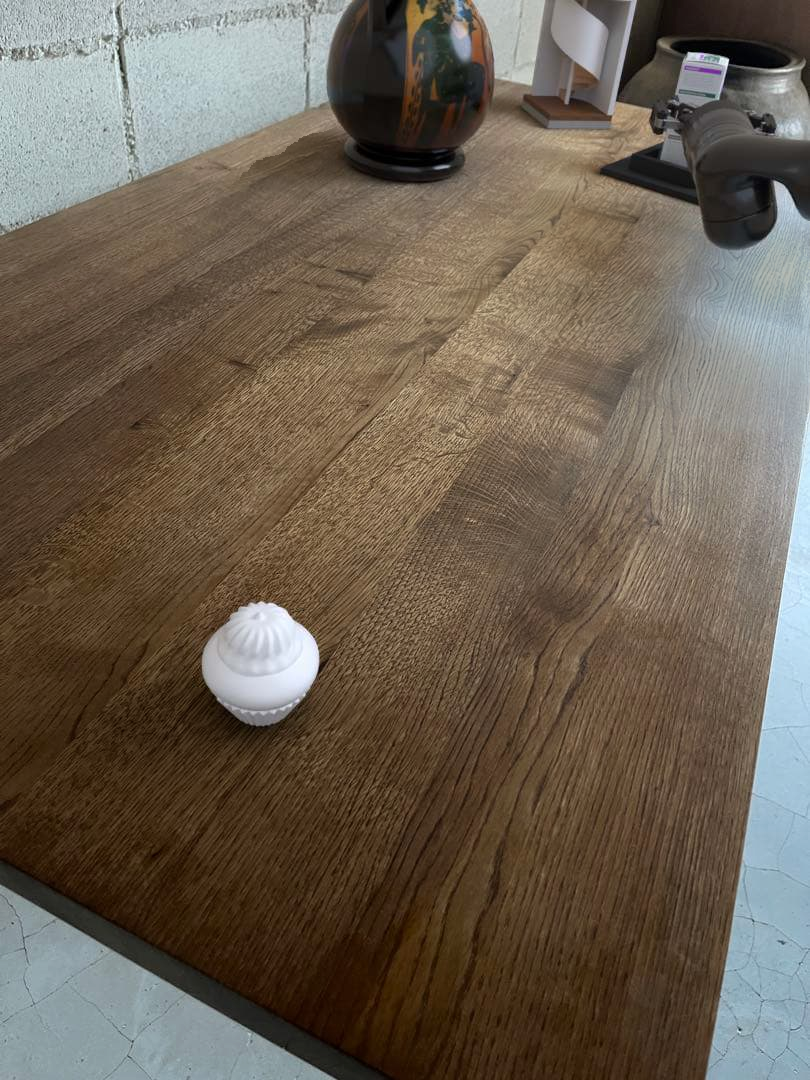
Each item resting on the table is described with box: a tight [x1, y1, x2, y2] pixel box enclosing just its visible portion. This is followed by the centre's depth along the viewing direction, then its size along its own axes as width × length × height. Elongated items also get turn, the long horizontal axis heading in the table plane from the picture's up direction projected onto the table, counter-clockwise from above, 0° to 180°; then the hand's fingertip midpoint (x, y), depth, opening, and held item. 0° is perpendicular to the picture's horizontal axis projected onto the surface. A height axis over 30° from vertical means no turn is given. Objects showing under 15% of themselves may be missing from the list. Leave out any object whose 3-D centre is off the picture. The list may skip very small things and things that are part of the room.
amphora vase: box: [325, 0, 496, 183], centre depth 115 cm, size 22×22×28 cm
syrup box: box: [660, 51, 730, 168], centre depth 124 cm, size 6×6×14 cm
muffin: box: [201, 600, 320, 727], centre depth 48 cm, size 6×6×7 cm
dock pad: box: [599, 141, 699, 205], centre depth 128 cm, size 16×16×3 cm
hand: (706, 107), depth 115 cm, fingers open, 8 cm apart
